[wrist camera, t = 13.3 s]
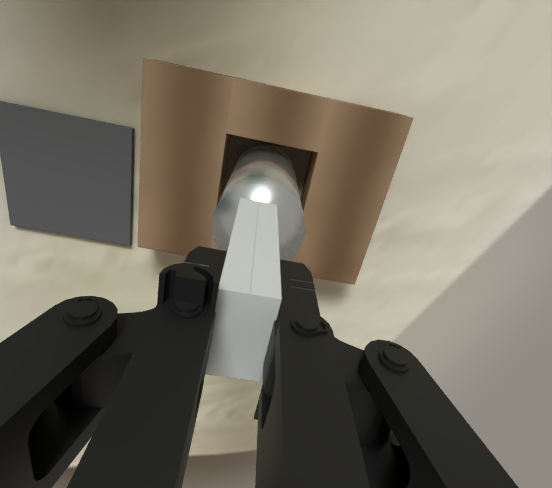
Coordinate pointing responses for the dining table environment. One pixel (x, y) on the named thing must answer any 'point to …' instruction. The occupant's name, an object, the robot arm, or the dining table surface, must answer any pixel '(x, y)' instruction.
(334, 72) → the dining table surface
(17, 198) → the pad
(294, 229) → the brushed steel cylinder
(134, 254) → the dining table surface
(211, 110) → the jig
